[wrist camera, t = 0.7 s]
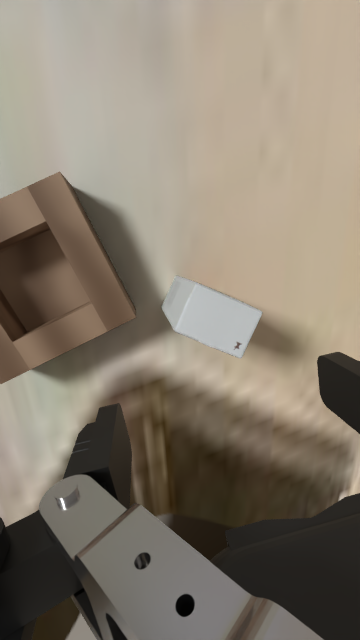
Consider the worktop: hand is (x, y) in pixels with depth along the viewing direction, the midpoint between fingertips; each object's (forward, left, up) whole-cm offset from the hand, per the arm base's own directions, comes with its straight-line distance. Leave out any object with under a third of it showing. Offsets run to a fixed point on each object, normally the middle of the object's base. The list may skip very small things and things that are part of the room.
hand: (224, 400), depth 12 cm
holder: (+10, -8, -23) cm, 26 cm away
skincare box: (-3, +1, -23) cm, 23 cm away
